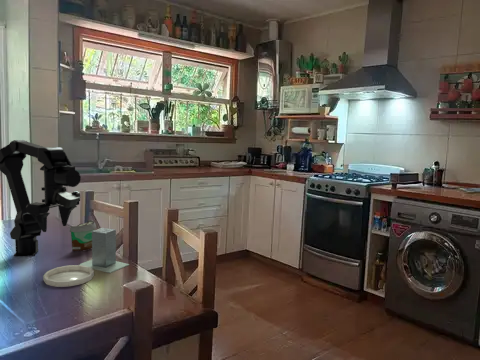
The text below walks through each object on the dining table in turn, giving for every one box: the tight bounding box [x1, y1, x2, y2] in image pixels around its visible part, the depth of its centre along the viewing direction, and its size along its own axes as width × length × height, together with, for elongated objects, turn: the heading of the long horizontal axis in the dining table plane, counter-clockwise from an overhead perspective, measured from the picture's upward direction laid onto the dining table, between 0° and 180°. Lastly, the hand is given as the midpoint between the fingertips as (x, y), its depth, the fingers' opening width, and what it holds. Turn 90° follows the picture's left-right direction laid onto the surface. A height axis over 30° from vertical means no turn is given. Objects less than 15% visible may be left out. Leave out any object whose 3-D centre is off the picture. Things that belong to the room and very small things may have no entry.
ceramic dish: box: [42, 264, 95, 288], centre depth 122 cm, size 14×14×2 cm
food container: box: [69, 219, 97, 252], centre depth 153 cm, size 12×6×10 cm, turn 168°
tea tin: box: [91, 227, 117, 268], centre depth 133 cm, size 6×6×12 cm
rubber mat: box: [78, 259, 130, 274], centre depth 134 cm, size 14×9×1 cm, turn 65°
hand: (54, 228), depth 135 cm, fingers open, 9 cm apart
